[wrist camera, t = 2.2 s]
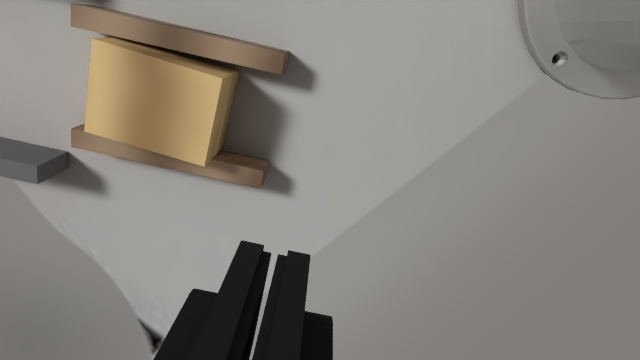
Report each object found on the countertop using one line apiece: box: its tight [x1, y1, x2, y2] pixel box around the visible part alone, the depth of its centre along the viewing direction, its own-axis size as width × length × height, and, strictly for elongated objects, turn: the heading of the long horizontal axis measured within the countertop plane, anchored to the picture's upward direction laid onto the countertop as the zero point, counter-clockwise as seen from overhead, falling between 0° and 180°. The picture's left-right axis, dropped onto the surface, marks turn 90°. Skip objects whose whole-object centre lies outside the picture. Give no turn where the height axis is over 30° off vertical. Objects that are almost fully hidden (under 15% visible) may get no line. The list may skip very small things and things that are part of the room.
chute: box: [71, 3, 289, 189], centre depth 25 cm, size 12×8×2 cm
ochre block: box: [84, 37, 239, 166], centre depth 24 cm, size 7×5×4 cm
